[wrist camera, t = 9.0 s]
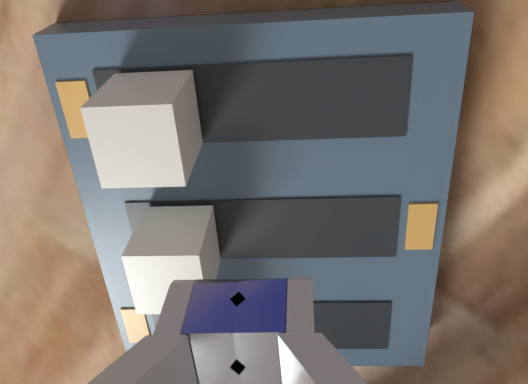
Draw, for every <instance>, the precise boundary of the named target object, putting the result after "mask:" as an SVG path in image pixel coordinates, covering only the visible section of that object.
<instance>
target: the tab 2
mask: <svg viewBox="0 0 528 384" xmlns="http://www.w3.org/2000/svg"><path fill="white" fill-rule="evenodd" d="M121 257H122V261H123V265H124V268H125V272H126V276H127V280H128V283H129V287H130V291H131V295H132V299H133V302H134V306H135V310H136V314H160V313H161V310H162V307H163V304H164V301H165V298H166V295H167V292H168V289H169V286H170V284H171V283H172V282H173V280H197V279H217V274H218V270H219V265H220V261H221V259H220V252H219V244H218V237H217V230H216V223H215V216H214V208H213V205H209V206H162V207H145V209H144V211H143V213H142V215H141V218H140V220H139V222H138V224H137V226H136V228H135V230H134V232H133V234H132V236H131V238H130V240H129V242H128V244H127V246H126V248H125V250H124V252H123V254H122V256H121Z"/></svg>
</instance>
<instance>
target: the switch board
mask: <svg viewBox="0 0 528 384" xmlns="http://www.w3.org/2000/svg"><path fill="white" fill-rule="evenodd" d="M473 18H474V11H473V10H471V9H470V8H468V7H467V6H466V5H464V4H463V3H461V2H460V1H445V2H426V3H408V4H390V5H372V6H354V7H336V8H318V9H300V10H282V11H264V12H246V13H228V14H210V15H192V16H174V17H156V18H138V19H120V20H102V21H83V22H65V23H54V24H52V25H50V26H49V27H47V28H45V29H43V30H41V31H39V32H38V33H36V34H34V35H33V39H34V42H35V45H36V49H37V52H38V56H39V59H40V62H41V66H42V69H43V73H44V76H45V79H46V83H47V86H48V89H49V93H50V96H51V100H52V103H53V106H54V110H55V113H56V117H57V120H58V123H59V127H60V130H61V134H62V137H63V140H64V144H65V147H66V150H67V154H68V157H69V161H70V164H71V167H72V171H73V174H74V178H75V181H76V184H77V188H78V191H79V195H80V198H81V201H82V205H83V208H84V211H85V215H86V218H87V222H88V225H89V228H90V232H91V235H92V239H93V242H94V245H95V249H96V252H97V256H98V259H99V262H100V266H101V269H102V272H103V276H104V279H105V283H106V286H107V289H108V293H109V296H110V300H111V303H112V306H113V310H114V313H115V317H116V320H117V323H118V327H119V330H120V333H121V337H122V340H123V344H124V347H125V350H126V352H127V351H128V350H129V349H130V348H131V347H133V346H134V345H135V344H136V343H137V342H139V341H140V340H141V339H142V338H144V337H145V336H146V335H153V334H154V331H155V328H156V325H157V322H158V319H159V316H160V314H136V310H135V306H134V302H133V299H132V295H131V291H130V287H129V283H128V280H127V276H126V272H125V268H124V265H123V261H122V257H121V256H122V254H123V252H124V250H125V248H126V246H127V244H128V242H129V240H130V238H131V236H132V234H133V232H134V230H135V228H136V226H137V224H138V222H139V220H140V218H141V215H142V213H143V211H144V209H145V207H162V206H209V205H213V208H214V216H215V223H216V230H217V237H218V244H219V252H220V259H221V261H220V265H219V270H218V274H217V279H272V278H288V277H308V276H311V278H312V281H313V306H314V331H315V333H322V334H323V335H324V336H325V337H326V338H327V339H328V341H329V342H330V343H331V344H332V345H333V346H334V347H335V348H336V349H337V350H338V352H339V353H340V354H341V355H342V356H343V357H344V358H345V359H346V360H347V361H348V363H349V364H350V365H351V366H424V363H425V356H426V349H427V342H428V335H429V328H430V321H431V314H432V307H433V300H434V293H435V286H436V279H437V272H438V265H439V258H440V251H441V243H442V236H443V229H444V222H445V215H446V208H447V201H448V194H449V187H450V180H451V173H452V166H453V159H454V152H455V145H456V138H457V130H458V123H459V116H460V109H461V102H462V95H463V88H464V81H465V74H466V67H467V60H468V53H469V46H470V39H471V32H472V25H473ZM180 70H193V76H194V83H195V90H196V97H197V105H198V112H199V119H200V126H201V133H202V140H203V144H202V146H201V149H200V151H199V154H198V157H197V159H196V162H195V164H194V167H193V169H192V172H191V174H190V177H189V180H188V182H187V185H186V186H184V187H144V188H104V189H102V188H101V184H100V181H99V177H98V173H97V169H96V166H95V162H94V158H93V154H92V151H91V147H90V143H89V139H88V136H87V132H86V128H85V124H84V121H83V117H82V113H81V109H80V107H81V106H82V105H83V104H84V103H85V102H86V101H87V100H88V99H89V98H90V97H91V96H92V95H93V94H94V93H95V92H96V91H97V90H99V89H100V88H101V87H102V86H103V85H104V84H105V83H106V82H107V81H108V80H109V79H110V78H111V77H112V76H113V75H114V74H115V73H136V72H158V71H180Z"/></svg>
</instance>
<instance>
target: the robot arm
mask: <svg viewBox="0 0 528 384" xmlns="http://www.w3.org/2000/svg"><path fill="white" fill-rule="evenodd" d="M88 384H368V383H367V382H366V381H365V380H364V379H363V378H362V377H361V376H360V375H359V374H358V372H357V371H356V370H355V369H354V368H353V367H352V366H351V365H350V364H349V363H348V361H347V360H346V359H345V358H344V357H343V356H342V355H341V354H340V353H339V352H338V350H337V349H336V348H335V347H334V346H333V345H332V344H331V343H330V342H329V341H328V339H327V338H326V337H325V336H324V335H323V334H322V333H315V331H314V306H313V281H312V278H311V276H308V277H288V278H272V279H197V280H173V282H172V283H171V284H170V286H169V289H168V292H167V295H166V298H165V301H164V304H163V307H162V310H161V313H160V316H159V319H158V322H157V325H156V328H155V331H154V334H153V335H146V336H145V337H144V338H142V339H141V340H140V341H139V342H137V343H136V344H135V345H134V346H133V347H131V348H130V349H129V350H128V351H127V352H125V353H124V354H123V355H122V356H121V357H119V358H118V359H117V360H116V361H114V362H113V363H112V364H111V365H110V366H108V367H107V368H106V369H105V370H104V371H102V372H101V373H100V374H99V375H98V376H96V377H95V378H94V379H93V380H91V381H90V382H89V383H88Z"/></svg>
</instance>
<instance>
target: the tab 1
mask: <svg viewBox="0 0 528 384" xmlns="http://www.w3.org/2000/svg"><path fill="white" fill-rule="evenodd" d="M80 109H81V113H82V117H83V121H84V124H85V128H86V132H87V136H88V139H89V143H90V147H91V151H92V154H93V158H94V162H95V166H96V169H97V173H98V177H99V181H100V184H101V188H102V189H104V188H144V187H184V186H186V185H187V182H188V180H189V177H190V174H191V172H192V169H193V167H194V164H195V162H196V159H197V157H198V154H199V151H200V149H201V146H202V144H203V140H202V133H201V126H200V119H199V112H198V105H197V97H196V90H195V83H194V76H193V70H180V71H158V72H136V73H115V74H114V75H113V76H112V77H111V78H110V79H109V80H108V81H107V82H106V83H105V84H104V85H103V86H102V87H101V88H100V89H99V90H97V91H96V92H95V93H94V94H93V95H92V96H91V97H90V98H89V99H88V100H87V101H86V102H85V103H84V104H83V105H82V106H81V107H80Z"/></svg>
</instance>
